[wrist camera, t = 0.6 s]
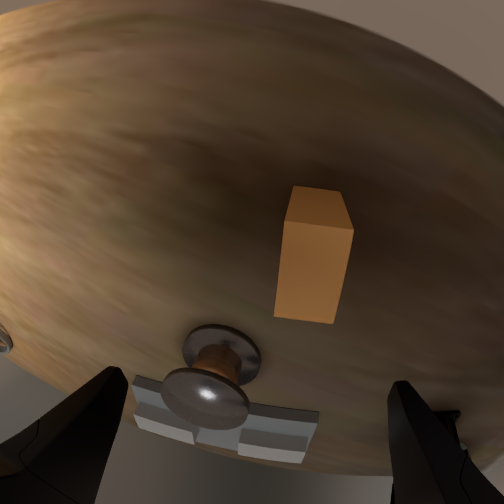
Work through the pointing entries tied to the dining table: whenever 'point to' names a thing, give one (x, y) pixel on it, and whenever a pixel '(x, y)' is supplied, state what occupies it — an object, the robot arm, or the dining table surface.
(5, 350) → the ceramic mug
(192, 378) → the grey and brown spool
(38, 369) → the dining table surface
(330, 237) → the orange tab
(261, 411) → the notched board
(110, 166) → the dining table surface
